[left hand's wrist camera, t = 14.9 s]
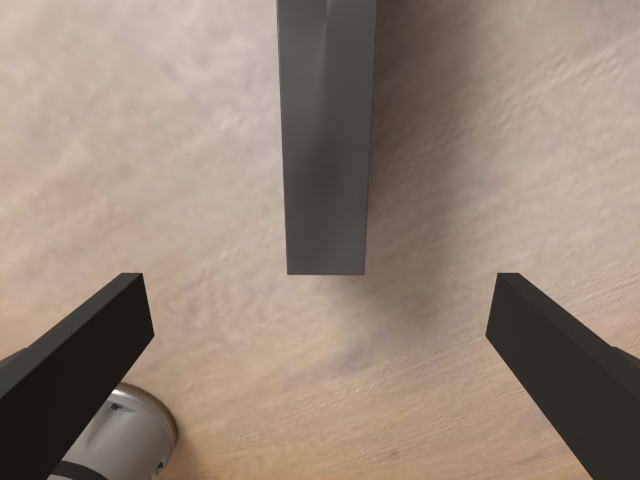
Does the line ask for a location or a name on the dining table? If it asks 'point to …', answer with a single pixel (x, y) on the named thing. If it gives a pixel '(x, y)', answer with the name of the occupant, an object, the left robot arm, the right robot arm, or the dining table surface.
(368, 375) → the dining table surface
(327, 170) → the bar
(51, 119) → the dining table surface
